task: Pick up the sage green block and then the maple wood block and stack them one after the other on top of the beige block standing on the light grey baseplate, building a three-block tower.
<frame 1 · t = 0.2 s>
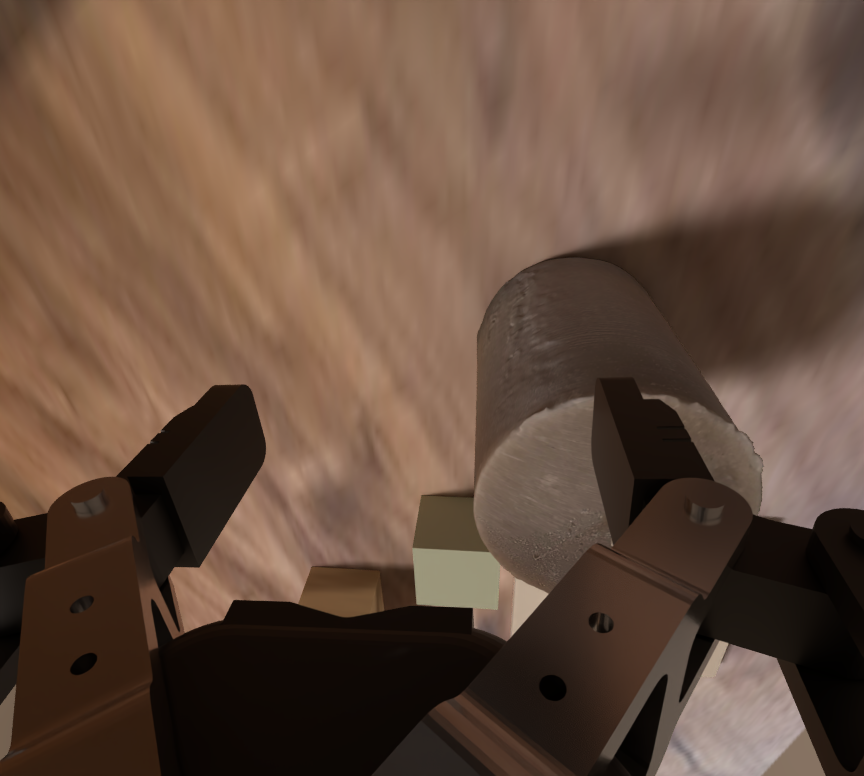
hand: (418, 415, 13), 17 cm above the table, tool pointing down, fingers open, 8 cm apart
maple block: (349, 590, 44), on the table
baseplate: (622, 592, 41), on the table
pillar candle: (567, 335, 30), on the table
sage block: (460, 524, 39), on the table
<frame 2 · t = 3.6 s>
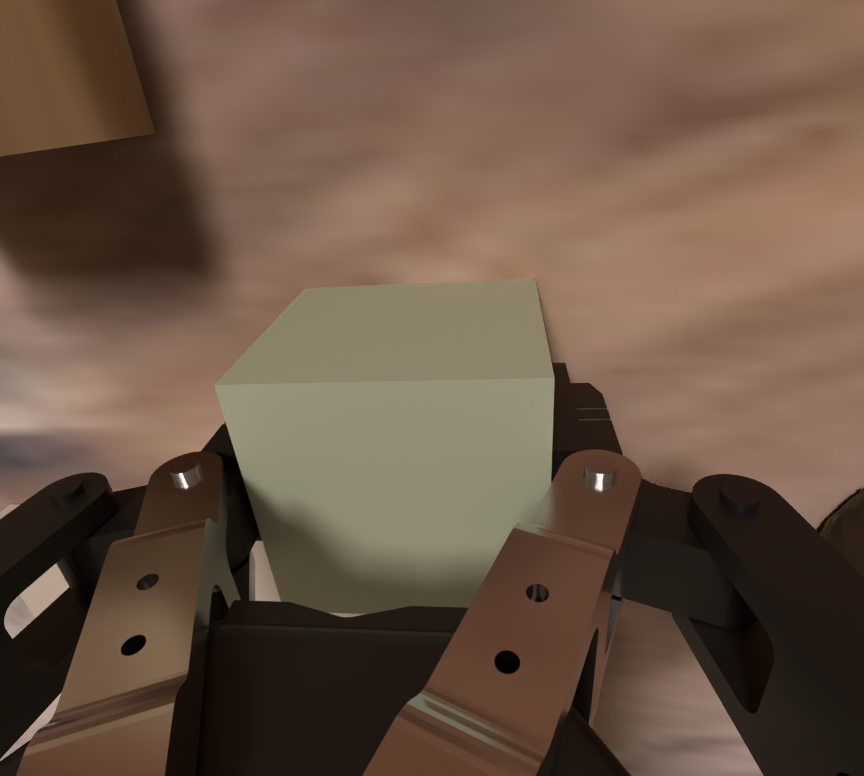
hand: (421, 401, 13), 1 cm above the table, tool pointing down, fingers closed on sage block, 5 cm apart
baseplate: (295, 670, 20), on the table
sage block: (426, 385, 14), on the table, touching gripper
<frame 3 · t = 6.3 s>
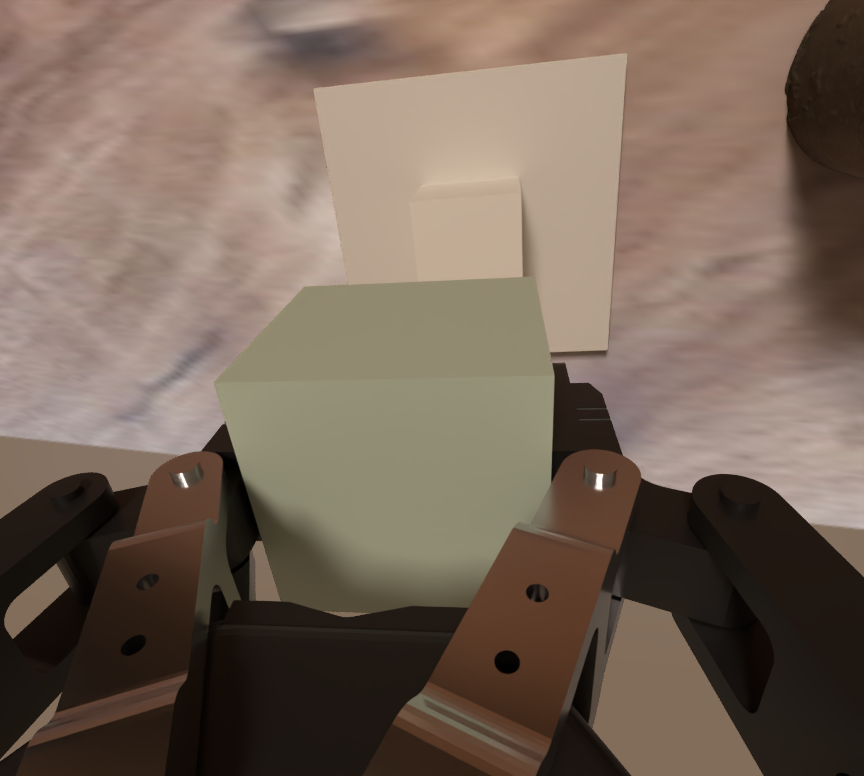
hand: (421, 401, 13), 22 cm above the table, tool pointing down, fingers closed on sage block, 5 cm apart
baseplate: (473, 225, 33), on the table
beige block: (472, 230, 32), point 1 cm above the table, touching baseplate
sage block: (426, 384, 14), point 21 cm above the table, touching gripper
when the fingers open (8 cm above the table, at t = 9.5 s): sage block drops 1 cm, resting on beige block.
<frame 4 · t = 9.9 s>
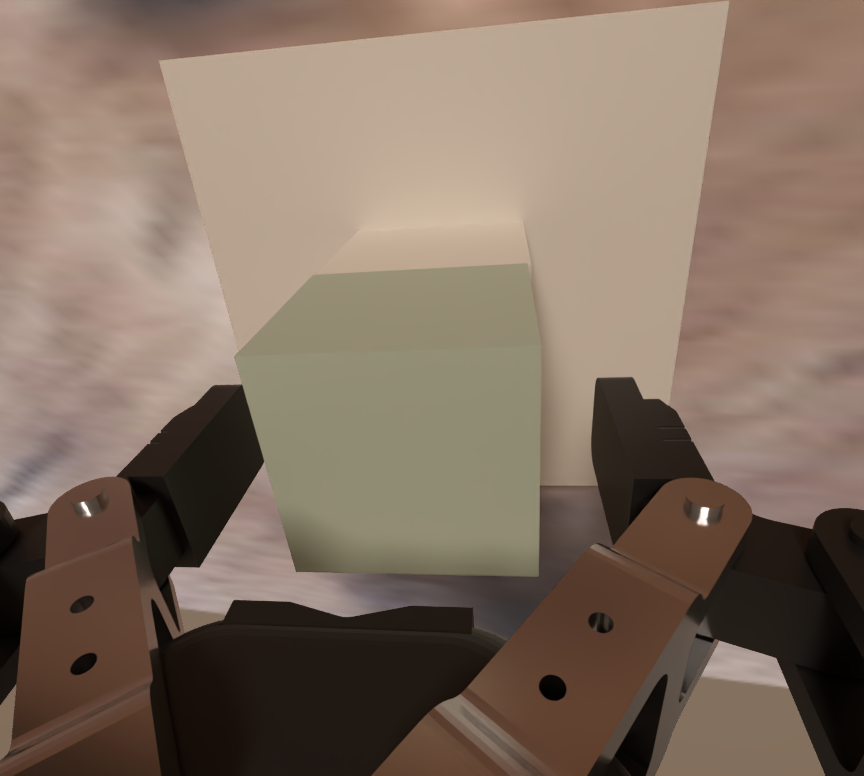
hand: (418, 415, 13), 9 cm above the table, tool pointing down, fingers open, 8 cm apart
baseplate: (447, 293, 20), on the table
beige block: (444, 304, 19), point 1 cm above the table, touching baseplate, sage block
sage block: (427, 366, 15), point 6 cm above the table, touching beige block
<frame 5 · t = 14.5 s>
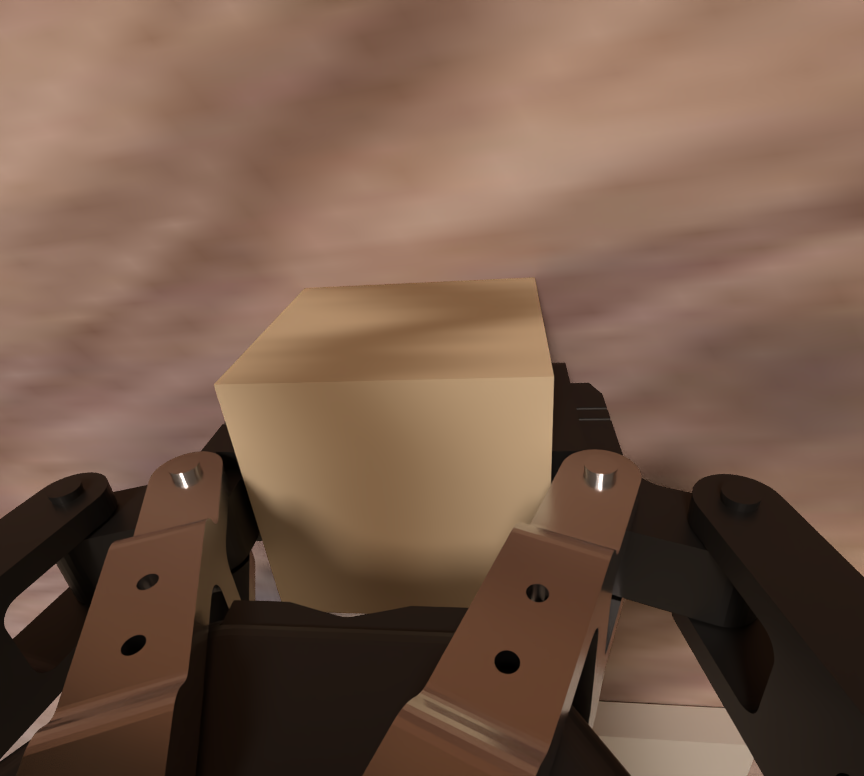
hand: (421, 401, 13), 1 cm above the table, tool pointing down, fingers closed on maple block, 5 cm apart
maple block: (426, 385, 14), on the table, touching gripper
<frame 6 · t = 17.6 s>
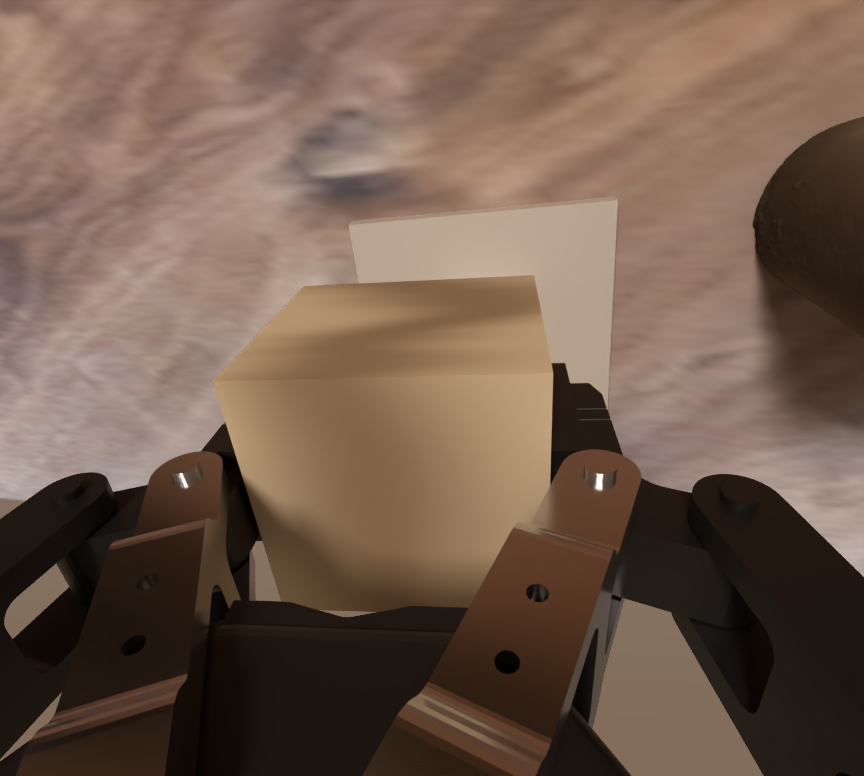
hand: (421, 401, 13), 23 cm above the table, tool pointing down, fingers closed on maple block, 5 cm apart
maple block: (426, 383, 14), point 23 cm above the table, touching gripper
baseplate: (487, 329, 37), on the table
pillar candle: (843, 209, 32), on the table
when the fingers open (13 cm above the table, at t = 20.6 s): maple block stays where it is, resting on sage block.
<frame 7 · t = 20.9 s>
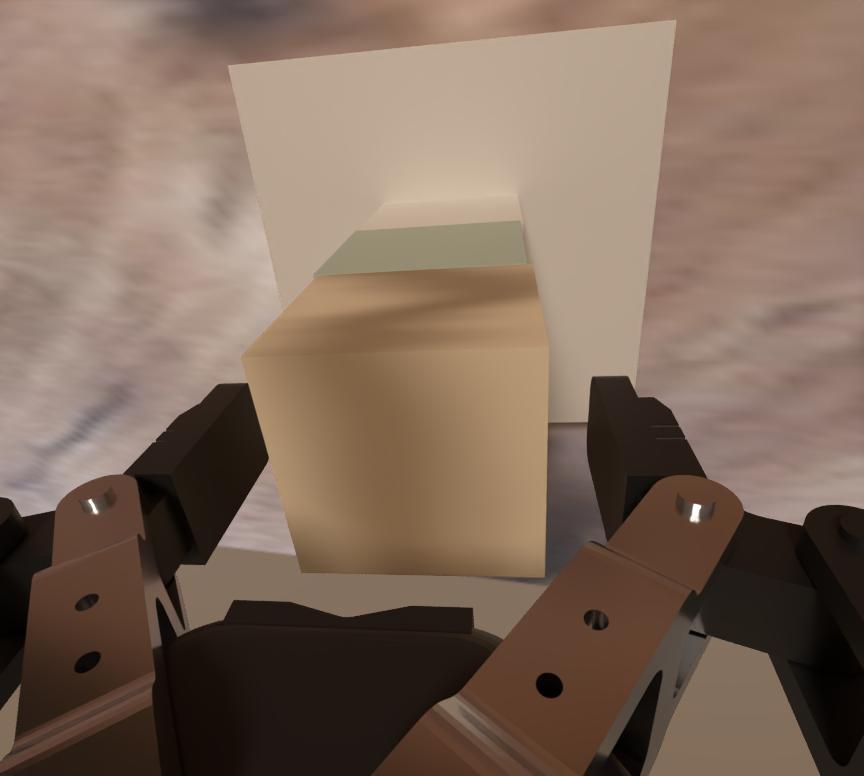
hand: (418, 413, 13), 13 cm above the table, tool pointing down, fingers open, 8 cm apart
maple block: (431, 366, 15), point 11 cm above the table, touching sage block
baseplate: (455, 257, 24), on the table
beige block: (454, 265, 23), point 1 cm above the table, touching baseplate, sage block
sage block: (442, 304, 19), point 6 cm above the table, touching maple block, beige block
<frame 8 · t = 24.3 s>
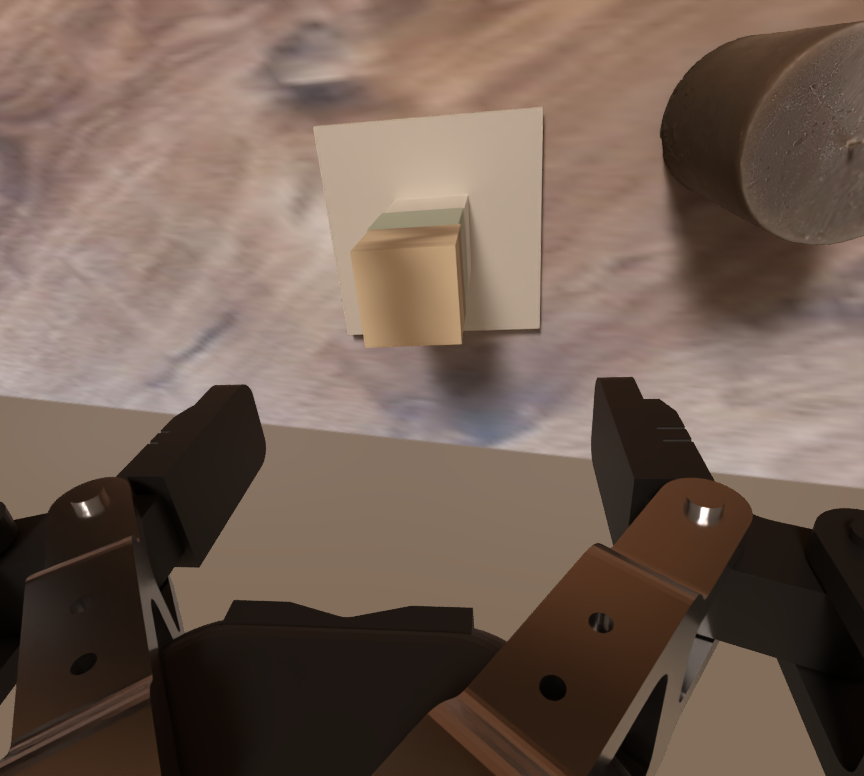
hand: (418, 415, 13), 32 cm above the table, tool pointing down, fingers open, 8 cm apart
maple block: (418, 272, 33), point 11 cm above the table, touching sage block
baseplate: (435, 230, 42), on the table
beige block: (434, 234, 41), point 1 cm above the table, touching baseplate, sage block
pillar candle: (735, 122, 37), on the table
sage block: (425, 251, 37), point 6 cm above the table, touching maple block, beige block
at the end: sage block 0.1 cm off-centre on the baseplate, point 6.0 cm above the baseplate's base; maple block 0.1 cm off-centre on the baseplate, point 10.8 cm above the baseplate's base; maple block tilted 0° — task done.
